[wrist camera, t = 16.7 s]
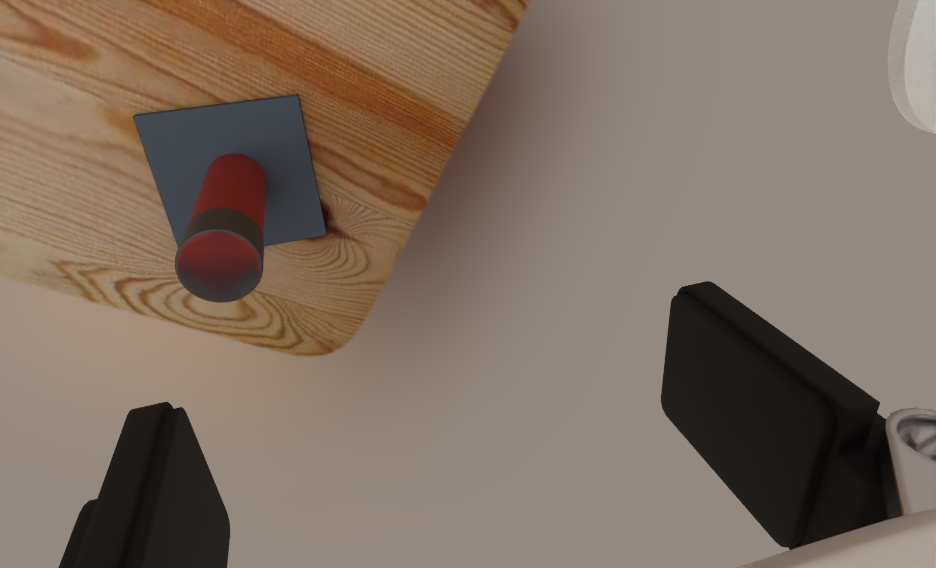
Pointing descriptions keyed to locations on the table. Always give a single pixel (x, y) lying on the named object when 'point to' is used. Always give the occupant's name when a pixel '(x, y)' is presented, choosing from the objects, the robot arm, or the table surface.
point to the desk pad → (236, 132)
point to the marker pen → (225, 232)
